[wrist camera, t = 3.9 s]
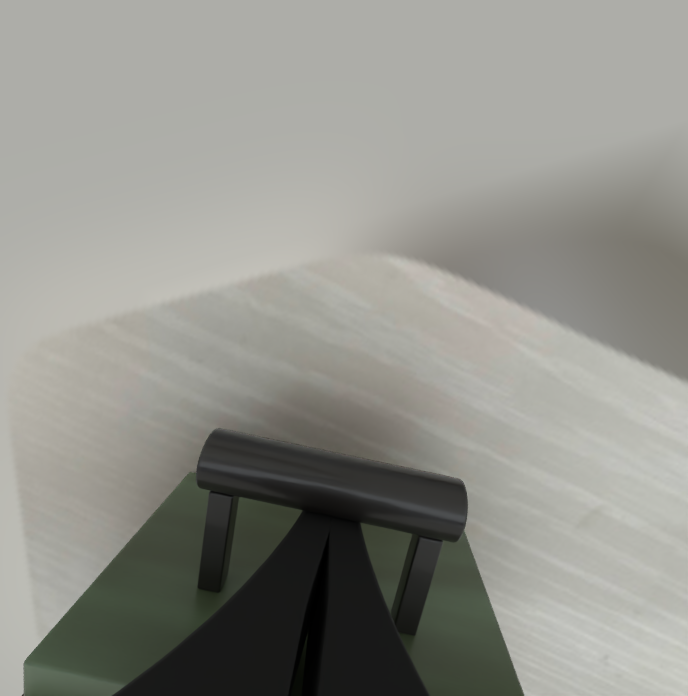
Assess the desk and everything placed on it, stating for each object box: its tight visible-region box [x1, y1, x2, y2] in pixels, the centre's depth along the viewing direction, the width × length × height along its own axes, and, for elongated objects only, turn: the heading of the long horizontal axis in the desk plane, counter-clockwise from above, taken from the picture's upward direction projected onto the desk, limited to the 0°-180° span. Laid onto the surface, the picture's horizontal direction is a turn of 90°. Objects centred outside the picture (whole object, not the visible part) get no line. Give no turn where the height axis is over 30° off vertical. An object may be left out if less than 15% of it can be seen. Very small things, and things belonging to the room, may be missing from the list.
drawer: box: [24, 428, 524, 696], centre depth 11 cm, size 16×10×7 cm, turn 169°
